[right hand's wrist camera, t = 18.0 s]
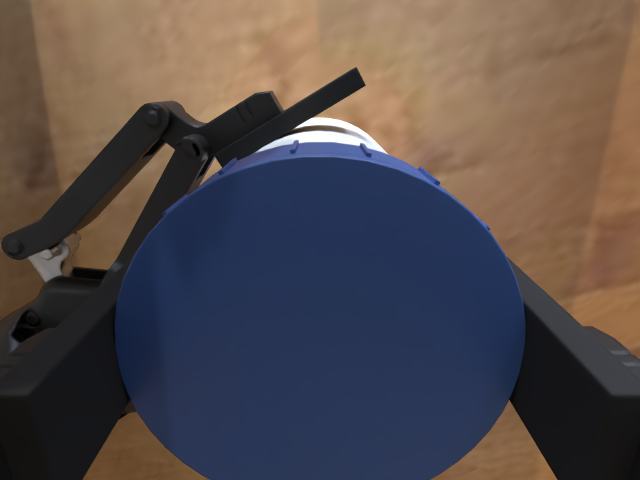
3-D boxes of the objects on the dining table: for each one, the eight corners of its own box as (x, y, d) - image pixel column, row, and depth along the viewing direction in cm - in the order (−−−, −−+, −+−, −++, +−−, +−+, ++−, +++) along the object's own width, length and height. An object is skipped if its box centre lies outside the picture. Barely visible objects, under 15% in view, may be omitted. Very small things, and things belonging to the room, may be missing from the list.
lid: (204, 465, 14) (184, 531, 12) (94, 181, 11) (39, 204, 9) (499, 418, 13) (533, 480, 11) (477, 101, 10) (518, 105, 8)
